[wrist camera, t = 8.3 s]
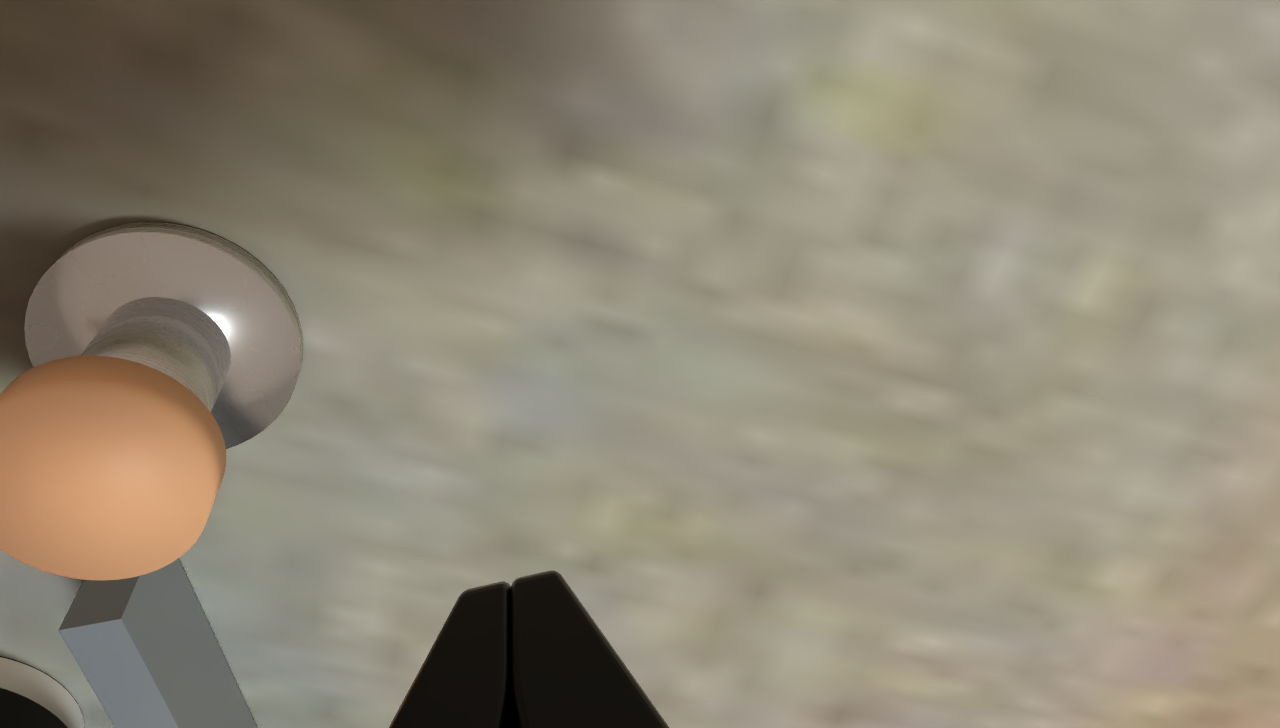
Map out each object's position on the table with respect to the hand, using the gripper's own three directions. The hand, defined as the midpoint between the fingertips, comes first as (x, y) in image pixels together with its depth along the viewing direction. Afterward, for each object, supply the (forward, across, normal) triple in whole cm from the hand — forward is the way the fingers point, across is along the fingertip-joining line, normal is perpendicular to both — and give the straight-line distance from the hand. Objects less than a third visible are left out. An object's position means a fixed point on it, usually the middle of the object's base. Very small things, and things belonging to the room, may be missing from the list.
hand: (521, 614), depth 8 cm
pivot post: (+12, +7, +2) cm, 14 cm away
